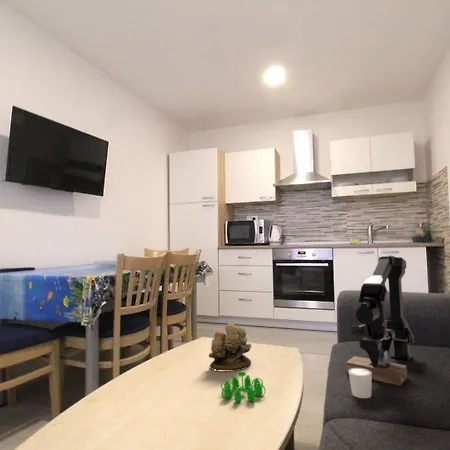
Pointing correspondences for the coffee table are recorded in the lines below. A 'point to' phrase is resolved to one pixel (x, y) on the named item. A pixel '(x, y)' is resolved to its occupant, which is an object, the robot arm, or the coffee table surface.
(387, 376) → the post board
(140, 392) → the coffee table surface
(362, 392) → the white cylinder
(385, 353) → the bracket
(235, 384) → the chandelier
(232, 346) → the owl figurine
